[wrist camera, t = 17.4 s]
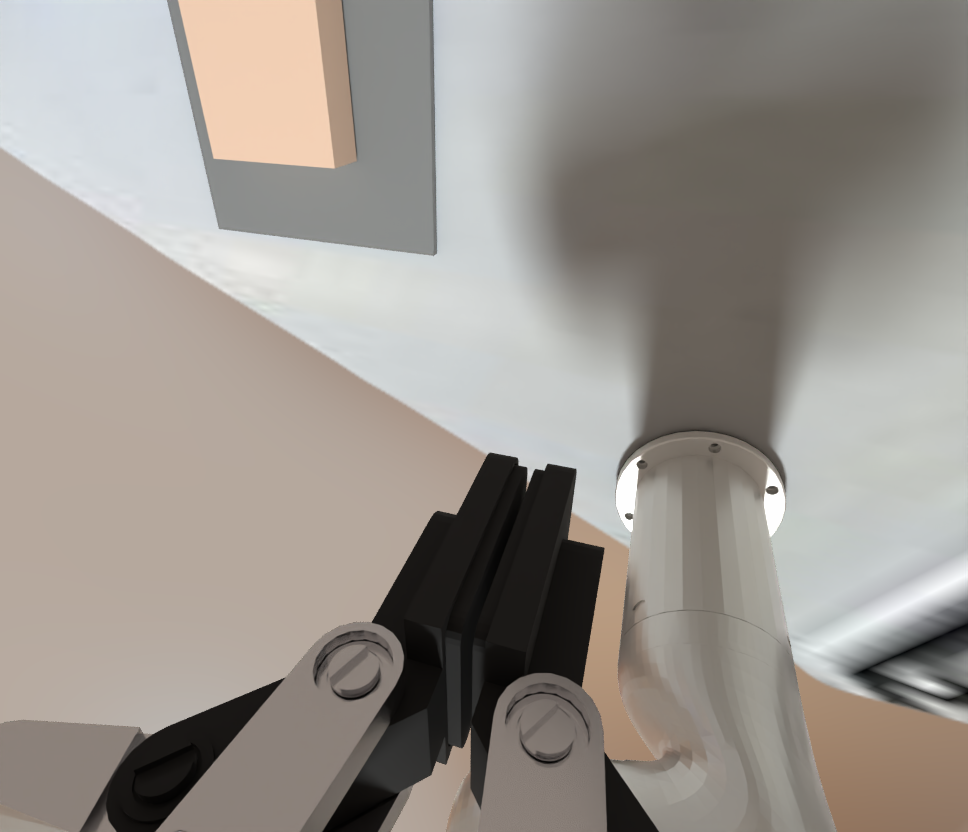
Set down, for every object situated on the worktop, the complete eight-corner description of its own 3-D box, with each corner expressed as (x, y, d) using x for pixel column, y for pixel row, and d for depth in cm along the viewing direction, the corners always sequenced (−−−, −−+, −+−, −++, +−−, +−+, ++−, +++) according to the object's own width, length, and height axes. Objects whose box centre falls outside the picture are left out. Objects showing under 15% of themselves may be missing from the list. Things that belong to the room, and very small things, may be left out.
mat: (436, 253, 40) (433, 255, 40) (224, 226, 44) (219, 228, 44) (429, -178, 28) (425, -182, 28) (137, -162, 32) (129, -165, 32)
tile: (334, 168, 35) (213, 158, 37) (358, 160, 38) (244, 151, 40) (311, -34, 30) (170, -33, 32) (340, -27, 32) (209, -26, 34)
